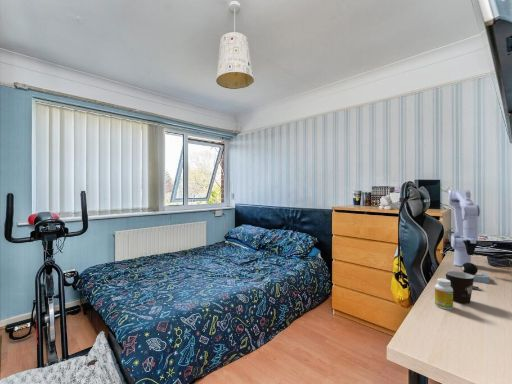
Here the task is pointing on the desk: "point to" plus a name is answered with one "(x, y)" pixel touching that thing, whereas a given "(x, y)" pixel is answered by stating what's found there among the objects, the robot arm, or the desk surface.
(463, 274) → the coffee mug
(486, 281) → the corral
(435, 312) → the desk surface
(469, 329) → the desk surface
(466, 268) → the billiard ball
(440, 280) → the supplement bottle
